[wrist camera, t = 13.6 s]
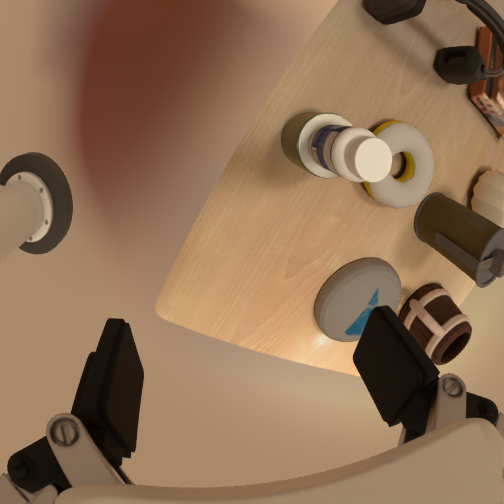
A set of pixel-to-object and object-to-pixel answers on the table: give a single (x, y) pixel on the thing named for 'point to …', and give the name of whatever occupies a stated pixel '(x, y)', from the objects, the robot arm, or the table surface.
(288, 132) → the tin can
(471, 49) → the headphones
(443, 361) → the mug
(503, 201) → the vase
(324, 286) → the frisbee
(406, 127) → the donut
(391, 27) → the table surface
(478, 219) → the canister
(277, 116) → the table surface
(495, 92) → the book
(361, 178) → the pill bottle
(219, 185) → the table surface
